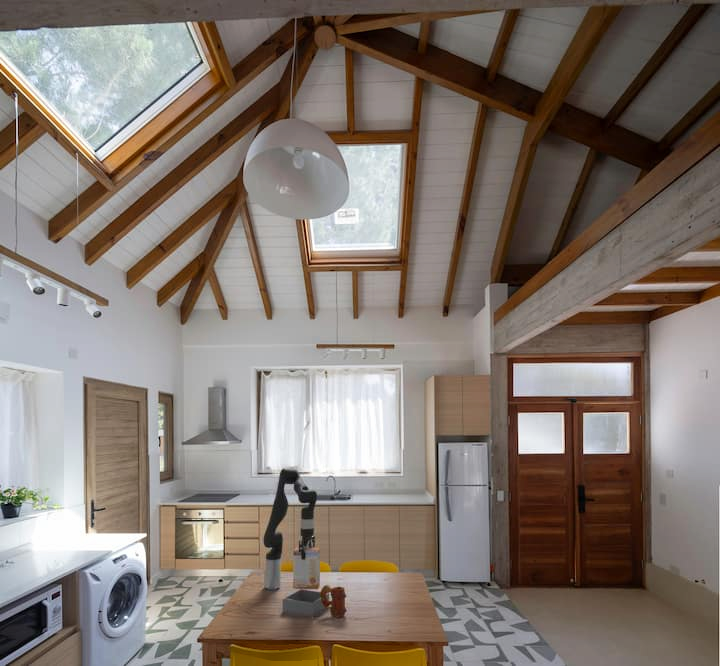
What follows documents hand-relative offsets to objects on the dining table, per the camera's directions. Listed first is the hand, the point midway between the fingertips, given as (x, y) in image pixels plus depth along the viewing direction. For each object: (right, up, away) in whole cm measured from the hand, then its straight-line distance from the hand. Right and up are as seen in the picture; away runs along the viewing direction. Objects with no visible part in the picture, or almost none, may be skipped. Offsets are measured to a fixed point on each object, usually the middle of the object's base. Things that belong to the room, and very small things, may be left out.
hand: (306, 557), depth 311 cm
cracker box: (0, -16, -2) cm, 16 cm away
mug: (+16, -26, -13) cm, 33 cm away
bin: (0, -27, -4) cm, 27 cm away
